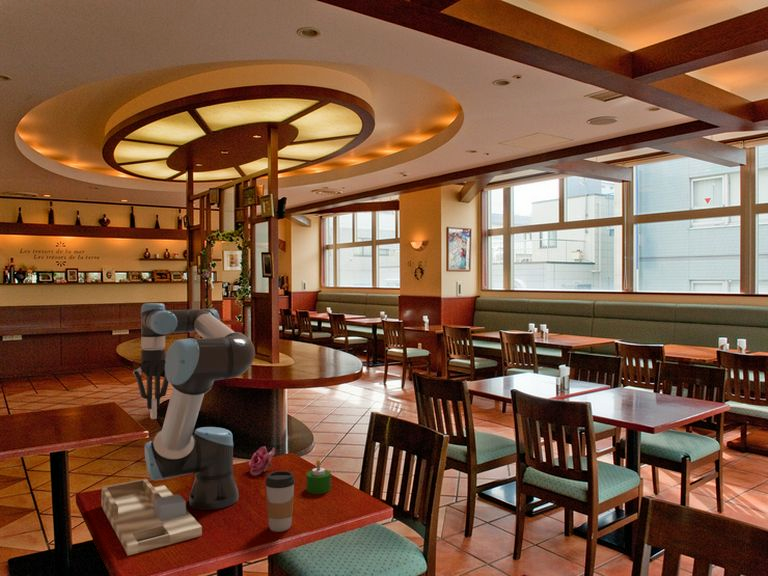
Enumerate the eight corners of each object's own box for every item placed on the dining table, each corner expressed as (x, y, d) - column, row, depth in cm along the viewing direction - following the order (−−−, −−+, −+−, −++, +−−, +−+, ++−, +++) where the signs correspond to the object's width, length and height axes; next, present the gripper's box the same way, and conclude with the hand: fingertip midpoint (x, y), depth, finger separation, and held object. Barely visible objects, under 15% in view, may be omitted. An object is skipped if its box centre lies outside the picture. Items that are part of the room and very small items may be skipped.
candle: (335, 488, 188) (335, 459, 188) (320, 496, 181) (320, 465, 181) (316, 483, 193) (316, 455, 192) (301, 490, 186) (301, 461, 186)
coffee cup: (267, 521, 162) (267, 470, 161) (295, 520, 162) (295, 469, 162) (263, 534, 153) (263, 480, 153) (293, 533, 154) (293, 479, 154)
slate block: (154, 512, 161) (154, 499, 161) (178, 507, 166) (178, 493, 166) (160, 521, 156) (160, 507, 156) (185, 514, 160) (185, 501, 160)
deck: (101, 506, 172) (101, 487, 172) (164, 492, 184) (164, 474, 184) (127, 555, 141) (127, 532, 141) (201, 535, 152) (201, 514, 152)
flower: (253, 485, 199) (238, 462, 200) (262, 478, 209) (248, 456, 210) (278, 468, 198) (263, 444, 200) (286, 461, 208) (272, 439, 210)
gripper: (170, 346, 193) (170, 413, 193) (130, 349, 185) (130, 418, 185) (176, 348, 187) (176, 417, 187) (135, 351, 179) (135, 423, 179)
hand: (153, 418), depth 186 cm, fingers closed
